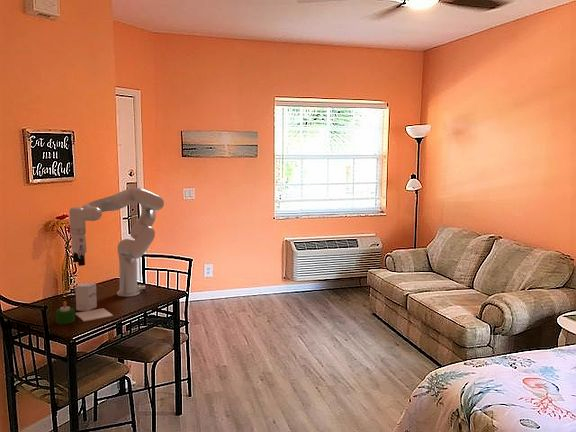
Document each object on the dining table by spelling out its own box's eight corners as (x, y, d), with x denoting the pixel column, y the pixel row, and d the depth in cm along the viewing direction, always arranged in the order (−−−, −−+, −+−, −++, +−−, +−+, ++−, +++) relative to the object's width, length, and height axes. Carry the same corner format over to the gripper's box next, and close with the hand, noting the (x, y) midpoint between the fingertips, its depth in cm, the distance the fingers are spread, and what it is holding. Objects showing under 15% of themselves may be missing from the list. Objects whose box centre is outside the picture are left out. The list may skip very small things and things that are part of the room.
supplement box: (88, 311, 252) (87, 286, 251) (75, 310, 254) (74, 286, 253) (97, 307, 259) (96, 283, 258) (84, 306, 261) (83, 282, 260)
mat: (103, 309, 258) (103, 308, 258) (112, 316, 248) (112, 314, 248) (75, 314, 249) (75, 313, 249) (83, 321, 239) (83, 320, 239)
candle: (52, 321, 237) (51, 301, 236) (67, 317, 244) (67, 297, 243) (63, 325, 233) (62, 304, 232) (78, 320, 240) (78, 300, 239)
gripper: (90, 233, 255) (91, 266, 258) (80, 228, 269) (81, 259, 271) (75, 234, 251) (76, 268, 253) (65, 229, 264) (66, 261, 266)
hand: (78, 263), depth 262 cm, fingers open, 8 cm apart
